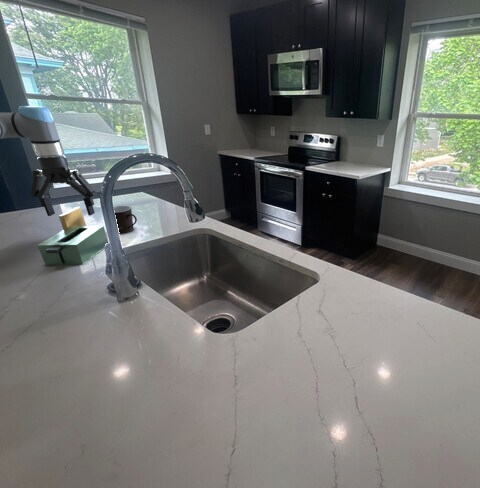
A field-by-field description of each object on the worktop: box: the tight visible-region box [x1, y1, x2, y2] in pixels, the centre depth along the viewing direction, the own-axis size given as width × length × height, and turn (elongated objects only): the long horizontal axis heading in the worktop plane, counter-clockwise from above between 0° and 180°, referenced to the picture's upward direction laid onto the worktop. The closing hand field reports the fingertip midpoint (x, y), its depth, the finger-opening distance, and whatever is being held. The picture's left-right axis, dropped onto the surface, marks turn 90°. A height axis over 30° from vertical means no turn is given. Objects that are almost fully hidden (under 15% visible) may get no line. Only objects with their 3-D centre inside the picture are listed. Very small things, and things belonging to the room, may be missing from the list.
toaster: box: [37, 225, 109, 266], centre depth 102 cm, size 11×16×8 cm
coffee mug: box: [113, 205, 138, 235], centre depth 120 cm, size 12×9×10 cm
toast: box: [58, 206, 87, 231], centre depth 112 cm, size 2×10×11 cm, turn 8°
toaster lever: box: [46, 247, 63, 254], centre depth 92 cm, size 3×2×1 cm
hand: (71, 214), depth 111 cm, fingers open, 13 cm apart
